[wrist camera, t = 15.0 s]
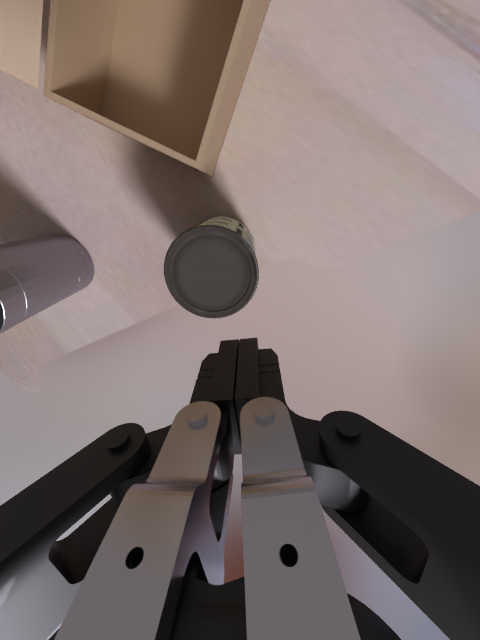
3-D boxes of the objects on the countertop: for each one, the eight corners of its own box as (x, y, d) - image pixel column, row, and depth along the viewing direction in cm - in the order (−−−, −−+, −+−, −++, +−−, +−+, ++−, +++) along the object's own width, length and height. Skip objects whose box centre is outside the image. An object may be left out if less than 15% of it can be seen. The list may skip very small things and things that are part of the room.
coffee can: (208, 291, 44) (190, 330, 31) (179, 232, 40) (145, 249, 27) (265, 268, 42) (272, 300, 29) (241, 204, 38) (236, 207, 25)
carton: (275, -17, 28) (288, -119, 19) (212, 176, 36) (199, 169, 27) (132, -104, 26) (68, -266, 17) (98, 122, 34) (43, 95, 25)
